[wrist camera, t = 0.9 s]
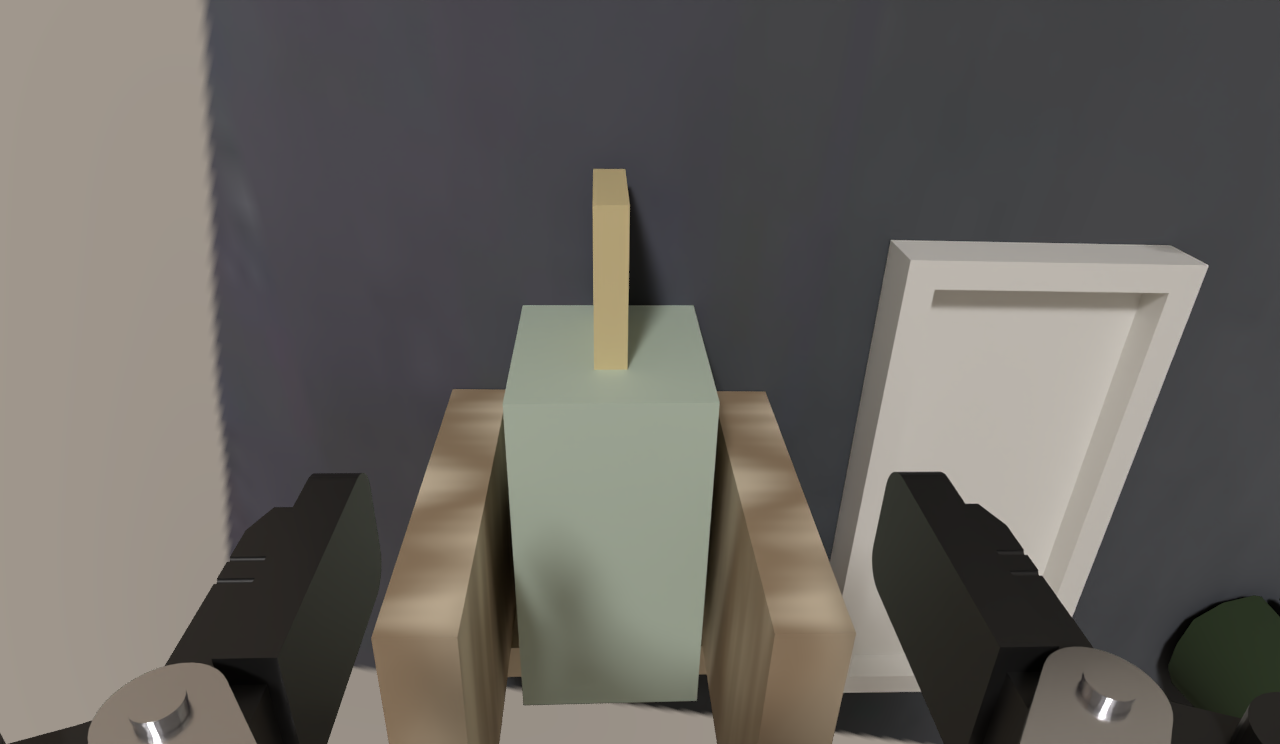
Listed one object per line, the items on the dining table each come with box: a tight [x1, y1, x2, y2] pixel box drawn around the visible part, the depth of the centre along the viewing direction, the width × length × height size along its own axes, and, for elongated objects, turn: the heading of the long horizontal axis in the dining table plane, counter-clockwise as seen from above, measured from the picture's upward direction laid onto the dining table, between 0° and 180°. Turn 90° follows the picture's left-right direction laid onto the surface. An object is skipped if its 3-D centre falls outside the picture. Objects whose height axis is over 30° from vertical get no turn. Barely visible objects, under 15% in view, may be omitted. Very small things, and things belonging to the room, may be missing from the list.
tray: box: [830, 240, 1209, 693], centre depth 32 cm, size 10×20×2 cm, turn 178°
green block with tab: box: [503, 169, 720, 705], centre depth 27 cm, size 6×17×7 cm, turn 179°
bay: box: [371, 389, 856, 744], centre depth 27 cm, size 12×12×12 cm
